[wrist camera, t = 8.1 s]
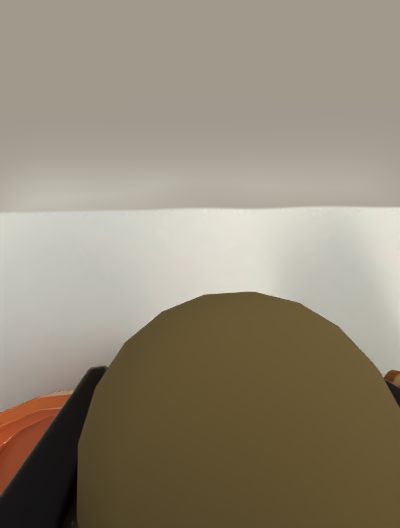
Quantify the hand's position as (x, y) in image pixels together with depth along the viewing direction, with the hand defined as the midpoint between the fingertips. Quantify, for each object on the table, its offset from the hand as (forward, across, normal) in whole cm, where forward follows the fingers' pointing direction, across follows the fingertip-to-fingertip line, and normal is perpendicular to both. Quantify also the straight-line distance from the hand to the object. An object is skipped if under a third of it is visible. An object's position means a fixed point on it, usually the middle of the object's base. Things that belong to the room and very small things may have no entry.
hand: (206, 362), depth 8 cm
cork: (+4, 0, +6) cm, 7 cm away
